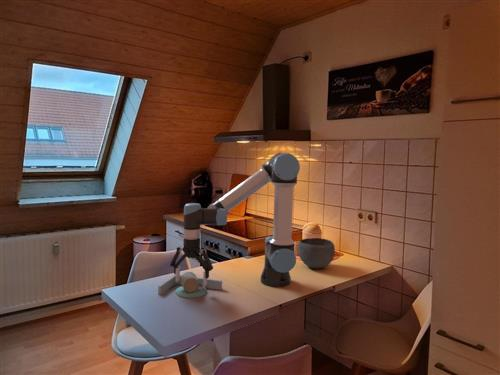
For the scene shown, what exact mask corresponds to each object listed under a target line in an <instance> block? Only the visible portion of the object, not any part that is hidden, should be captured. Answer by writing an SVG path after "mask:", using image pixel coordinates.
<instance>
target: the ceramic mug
mask: <svg viewBox="0 0 500 375" xmlns="http://www.w3.org/2000/svg"><path fill="white" fill-rule="evenodd" d="M197 278H198V277H197V275H196V274H195V273H194V272H192V271H186V272H184V273H183V274H182V275H181V279H180V282H181V284H180V285H181V286H182V287H183V288H184V290H185V291H186V292H188V293H193V292H195V291H196V290H197V289H199V290H204V288H205V286H203V284H201V283H200V282H198V279H197Z"/></svg>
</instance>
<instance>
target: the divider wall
mask: <svg viewBox="0 0 500 375" xmlns="http://www.w3.org/2000/svg"><path fill="white" fill-rule="evenodd" d="M174 275H175V274H174ZM175 276H176V275H175ZM181 276H182V275H181V274H180V279H181ZM197 279H198V282H200V283H201V284H203V277H197ZM175 285H181V282H180V281H178V282H176V284H175ZM205 288H206V289H214V290H221V291H222V290H223V280H219V279H213V278H207V284H206V285H205Z"/></svg>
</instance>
